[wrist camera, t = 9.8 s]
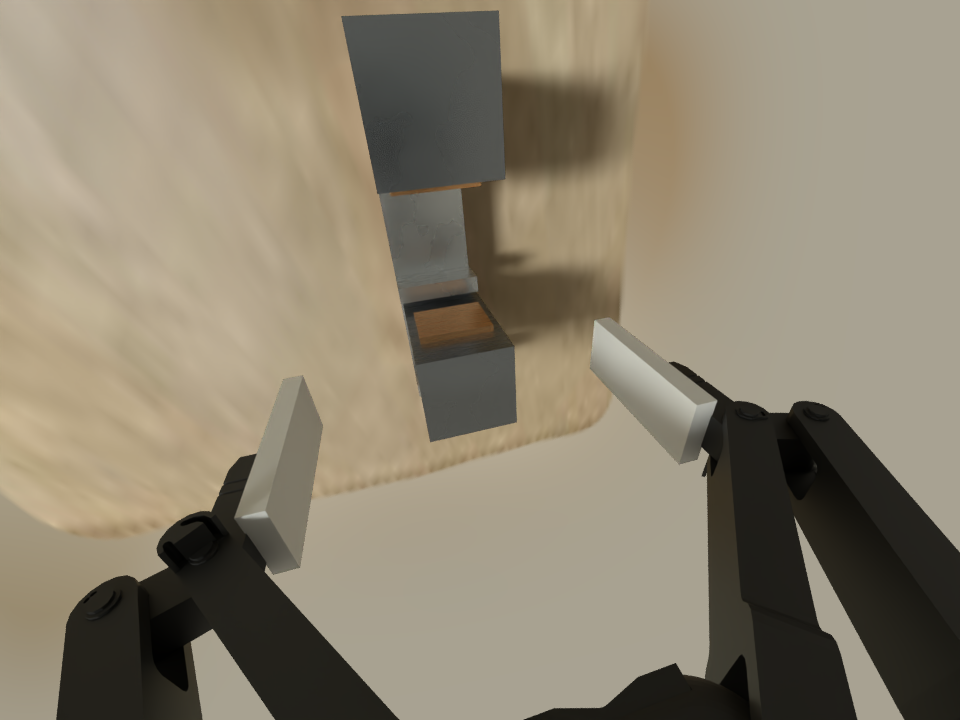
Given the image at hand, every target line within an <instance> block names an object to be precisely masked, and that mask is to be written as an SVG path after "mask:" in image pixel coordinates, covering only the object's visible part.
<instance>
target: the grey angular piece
mask: <svg viewBox="0 0 960 720" xmlns="http://www.w3.org/2000/svg"><path fill="white" fill-rule="evenodd" d="M341 17H342V22H343V27H344V32H345V37H346V42H347V46H348V51H349V56H350V61H351V66H352V71H353V76H354V81H355V86H356V90H357V95H358V100H359V105H360V110H361V115H362V120H363V125H364V130H365V134H366V139H367V144H368V149H369V154H370V159H371V164H372V169H373V174H374V178H375V183H376V188H377V193H378V194H379V196H380V201H381V206H382V211H383V216H384V221H385V226H386V231H387V236H388V241H389V246H390V251H391V256H392V261H393V265H394V270H395V275H396V281H397V286H398V291H399V296H400V301H401V305H402V310H403V315H404V320H405V325H406V330H407V334H408V339H409V344H410V349H411V354H412V359H413V364H414V369H415V374H416V379H417V385H418V390H419V395H420V396H421V392H420V387H419V382H418V377H417V372H416V367H415V362H414V357H413V352H412V347H411V342H410V337H409V332H408V326H407V321H406V316H405V311H404V306H403V304H405V303H411V302H417V301H423V300H429V299H435V298H441V297H447V296H453V295H459V294H465V293H471V292H477V291H478V283H477V276H476V275H475V273H474V272H473V271H472V269H471V268H470V267H469V266H468V257H467V246H466V236H465V226H464V215H463V205H462V195H461V188H469V187H477V186H481V182H486V181H494V180H503V179H505V156H504V131H503V106H502V80H501V55H500V30H499V11H473V12H446V13H418V14H390V15H362V16H341Z"/></svg>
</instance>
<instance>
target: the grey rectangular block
mask: <svg viewBox="0 0 960 720" xmlns="http://www.w3.org/2000/svg"><path fill="white" fill-rule="evenodd" d="M403 306H404V311H405V316H406V321H407V326H408V332H409V337H410V342H411V347H412V352H413V357H414V362H415V367H416V372H417V377H418V382H419V387H420V392H421V397H422V402H423V408H424V413H425V418H426V423H427V428H428V433H429V438H430V442H433V441H437V440H442V439H446V438H450V437H455V436H459V435H463V434H468V433H472V432H476V431H481V430H485V429H489V428H494V427H498V426H502V425H507V424H511V423H515V422H517V416H516V384H515V353H514V345H513V344H512V342H511V341H510V339H509V338H508V337H507V335H506V334H505V332H504V331H503V329H502V328H501V327H500V325H499V324H498V322H497V321H496V320H495V318H494V317H493V315H492V314H491V312H490V311H489V310H488V308H487V307H486V305H485V304H484V302H483V301H482V300H481V298H480V297H479V295H478V294H477V292H471V293H465V294H459V295H453V296H447V297H441V298H435V299H429V300H423V301H417V302H411V303H405V304H403Z"/></svg>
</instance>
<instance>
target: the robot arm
mask: <svg viewBox="0 0 960 720" xmlns="http://www.w3.org/2000/svg"><path fill="white" fill-rule="evenodd" d="M590 369H591V370H592V371H593V372H594V374H595V375H596V376H597V377H598V378H599V379H600V380H601V381H602V382H603V383H604V384H605V385H606V386H607V388H608V389H609V390H610V391H611V392H612V393H613V394H614V395H615V396H616V397H617V398H618V399H619V400H620V401H621V403H622V404H623V405H624V406H625V407H626V408H627V409H628V410H629V411H630V412H631V413H632V414H633V415H634V417H636V419H637V420H638V421H639V422H640V423H641V424H642V425H643V426H644V427H645V428H646V429H647V431H648V432H649V433H650V434H651V435H652V436H653V437H654V438H655V439H656V440H657V441H658V442H659V443H660V445H661V446H662V447H663V448H664V449H665V450H666V451H667V452H668V453H669V454H670V455H671V456H672V457H673V458H674V460H675V461H676V462H677V463H678V464H682V463H686V462H690V461H693V460H697V459H698V456H699V453H700V450H701V447H702V448H703V449H704V450H705V451H706V452H707V453H708V454H709V457H708V460H707V463H706V465H705V468H704V471H703V474H702V476H703V477H705V476H706V473H707V499H708V500H707V502H708V503H707V506H708V568H709V569H708V571H709V633H710V634H709V638H710V648H709V649H710V650H709V659H708V663H707V668H706V674H705V679H703V678H699V677H695V676H688V675H683V674H682V673H681V671H680V669H679V668H678V666H677V664H676V663H675V664H672V665H669V666H666V667H664V668H661V669H658V670H656V671H653V672H650V673H648V674H645V675H642V676H640V677H638V678H636V679H635V680H634V681H633V682H632V683H631V684H630V685H629V686H627V687H626V688H625V689H624V690H623V691H622V692H621V693H620V694H618V695H617V696H616V697H615V698H614V699H613V700H612V701H611V702H610V703H608V704H607V705H606V706H604V707H602V708H554V709H551V710H548V711H546V712H543V713H540V714H538V715H535V716H532V717H530V718H527V719H524V720H857V717H856V713H855V709H854V705H853V701H852V697H851V693H850V689H849V685H848V681H847V677H846V673H845V669H844V665H843V661H842V657H841V654H840V651H839V648H838V645H837V643H836V641H835V640H834V638H833V637H832V635H830V634H828V633H826V632H824V631H822V630H821V628H820V627H819V624H818V621H817V617H816V612H815V608H814V604H813V599H812V595H811V590H810V586H809V581H808V577H807V572H806V568H805V563H804V559H803V554H802V550H801V546H800V541H799V536H798V532H797V528H796V523H795V519H794V516H795V518H796V520H797V522H798V524H799V526H800V527H801V529H802V531H803V533H804V535H805V537H806V539H807V541H808V542H809V544H810V546H811V548H812V550H813V552H814V554H815V555H816V557H817V559H818V561H819V563H820V565H821V566H822V568H823V570H824V572H825V574H826V576H827V578H828V579H829V581H830V583H831V585H832V587H833V589H834V591H835V593H836V594H837V596H838V598H839V600H840V602H841V604H842V605H843V607H844V609H845V611H846V613H847V615H848V616H849V618H850V620H851V622H852V624H853V626H854V628H855V630H856V632H857V633H858V635H859V637H860V639H861V641H862V643H863V644H864V646H865V648H866V650H867V652H868V654H869V655H870V657H871V659H872V661H873V663H874V665H875V667H876V668H877V670H878V672H879V674H880V676H881V678H882V679H883V681H884V683H885V685H886V687H887V689H888V691H889V693H890V695H891V696H892V698H893V700H894V702H895V704H896V706H897V708H898V709H899V711H900V713H901V714H902V716H903V718H904V720H960V552H959V551H958V550H957V549H956V548H955V546H954V545H953V544H952V543H951V542H950V541H949V540H948V539H947V537H946V536H945V535H944V534H943V533H942V532H941V530H940V529H939V528H938V527H937V526H936V525H935V524H934V522H933V521H932V520H931V519H930V518H929V517H928V515H927V514H926V513H925V512H924V511H923V510H922V509H921V507H920V506H919V505H918V504H917V503H916V502H915V501H914V500H913V498H912V497H911V496H910V495H909V494H908V493H907V491H906V490H905V489H904V488H903V487H902V486H901V485H900V483H899V482H898V481H897V480H896V479H895V478H894V476H893V475H892V474H891V473H890V472H889V471H888V470H887V468H886V467H885V466H884V465H883V464H882V463H881V462H880V460H879V459H878V458H877V457H876V456H875V455H874V454H873V452H872V451H871V450H870V449H869V448H868V447H867V445H866V444H865V443H864V442H863V441H862V440H861V439H860V437H859V436H858V435H857V434H856V433H855V432H854V431H853V429H852V428H851V427H850V426H849V425H848V424H847V423H846V421H845V420H844V419H843V418H842V417H841V416H840V415H839V414H838V413H837V412H836V411H834V410H833V409H831V408H829V407H827V406H825V405H823V404H819V403H816V402H809V401H799V402H796V403H794V404H793V406H792V408H791V410H790V412H789V413H769V412H767V411H766V410H765V409H764V408H762V407H760V406H758V405H756V404H753V403H749V402H742V401H735V402H734V401H732V400H731V399H729V398H728V397H727V396H725V395H724V394H723V393H721V392H720V391H719V390H717V389H716V388H715V387H713V386H712V385H710V384H709V383H708V382H705V381H704V379H702V378H701V377H700V376H697V374H696V373H694V372H693V371H691V370H690V369H689V368H688V367H686V366H683V365H681V364H679V363H676V362H669V363H668V362H667V361H666V360H664V359H663V358H662V357H660V356H659V355H658V354H656V353H655V352H654V351H653V350H651V349H650V348H649V347H648V346H646V345H645V344H644V343H642V342H641V341H640V340H638V339H637V338H636V337H635V336H633V335H632V334H631V333H629V332H628V331H627V330H625V329H624V328H623V327H622V326H620V325H619V324H618V323H616V322H615V321H614V320H613V319H611V318H610V317H608V318H603V319H597V320H595V322H594V332H593V342H592V352H591V362H590ZM322 428H323V425H322V422H321V420H320V417H319V415H318V412H317V410H316V407H315V405H314V402H313V400H312V397H311V395H310V392H309V390H308V387H307V385H306V382H305V380H304V377H303V375H302V376H297V377H292V378H287V379H283V381H282V384H281V387H280V390H279V392H278V395H277V398H276V401H275V404H274V407H273V409H272V412H271V415H270V418H269V421H268V424H267V426H266V429H265V432H264V435H263V438H262V441H261V443H260V446H259V449H258V452H257V454H253V455H249V456H244V457H240V458H239V459H238V460H237V462H236V463H235V464H234V465H233V466H232V467H231V468H230V469H229V471H228V473H227V476H226V478H225V481H224V483H223V484H224V486H222V488H221V490H220V492H219V496H218V497H217V500H216V502H215V504H214V507H213V509H212V512H210V511H200V512H197V513H194V514H191V515H188V516H186V517H185V518H183V519H181V520H179V521H178V522H176V523H175V524H174V525H173V526H171V527H170V528H169V529H168V530H167V531H166V532H165V534H164V535H163V536H162V538H161V539H160V541H159V543H158V546H157V553H158V556H159V557H160V558H161V559H162V560H163V561H164V562H165V563H166V564H167V565H168V568H167V569H165V570H163V571H161V572H159V573H157V574H155V575H153V576H151V577H149V578H147V579H145V580H143V581H141V582H138V581H137V580H136V579H135V578H133V577H130V576H127V575H126V576H120V577H115V578H113V579H111V580H108V581H106V582H104V583H102V584H101V585H99V586H98V587H96V588H95V589H93V590H92V591H90V592H89V593H88V594H87V595H86V596H85V597H84V598H83V599H82V600H81V601H80V602H79V603H78V604H77V605H76V607H75V608H74V610H73V611H72V612H71V614H70V616H69V619H68V621H67V624H66V633H65V643H64V652H63V661H62V671H61V681H60V691H59V700H58V709H57V718H56V720H202V713H201V706H200V700H199V693H198V687H197V680H196V674H195V667H194V661H193V654H192V648H191V641H192V640H194V639H196V638H197V637H199V636H201V635H203V634H204V633H206V632H208V631H209V630H211V629H213V630H214V631H215V632H216V634H217V635H218V637H219V638H220V640H221V641H222V643H223V644H224V646H225V647H226V649H227V650H228V651H229V653H230V654H231V656H232V657H233V659H234V660H235V662H236V663H237V665H238V666H239V668H240V669H241V670H242V672H243V673H244V675H245V676H246V678H247V679H248V681H249V682H250V684H251V685H252V686H253V688H254V689H255V691H256V692H257V694H258V695H259V697H260V698H261V700H262V701H263V703H264V704H265V706H266V707H267V708H268V710H269V711H270V713H271V714H272V716H273V717H274V719H275V720H399V719H398V718H397V717H396V716H395V715H394V714H393V713H392V712H391V710H390V709H389V708H388V707H387V706H386V705H385V704H384V703H383V702H382V700H381V699H380V698H379V697H378V696H377V695H376V694H375V693H374V692H373V691H372V690H371V688H370V687H369V686H368V685H367V684H366V683H365V682H364V681H363V680H362V679H361V677H360V676H359V675H358V674H357V673H356V672H355V671H354V670H353V669H352V668H351V666H350V665H349V664H348V663H347V662H346V661H345V660H344V659H343V658H342V657H341V655H340V654H339V653H338V652H337V651H336V650H335V649H334V648H333V647H332V646H331V644H330V643H329V642H328V641H327V640H326V639H325V638H324V637H323V636H322V635H321V634H320V633H319V631H318V630H317V629H316V628H315V627H314V626H313V625H312V624H311V623H310V621H309V620H308V619H307V618H306V617H305V616H304V615H303V614H302V613H301V612H300V610H299V609H298V608H297V607H296V606H295V605H294V604H293V603H292V602H291V601H290V599H289V598H288V597H287V596H286V595H285V594H284V593H283V592H282V591H281V590H280V588H279V587H278V586H277V585H276V584H275V583H274V582H273V581H272V580H271V579H270V577H269V576H268V575H267V574H266V573H265V567H266V565H267V566H268V568H269V569H270V571H271V572H272V574H273V575H274V574H278V573H281V572H285V571H289V570H293V569H296V568H300V564H301V558H302V551H303V546H304V539H305V533H306V527H307V521H308V515H309V508H310V502H311V496H312V490H313V484H314V477H315V471H316V465H317V459H318V453H319V447H320V440H321V434H322Z"/></svg>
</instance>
